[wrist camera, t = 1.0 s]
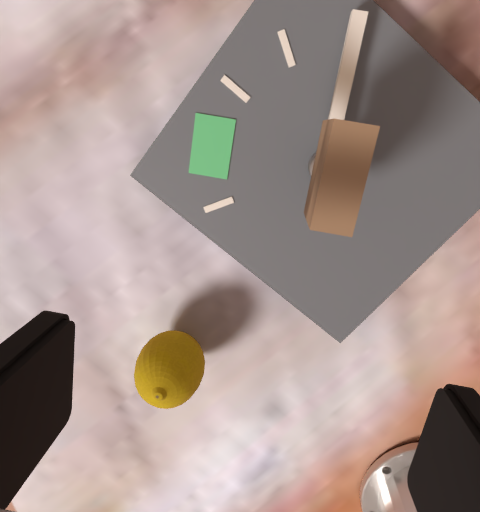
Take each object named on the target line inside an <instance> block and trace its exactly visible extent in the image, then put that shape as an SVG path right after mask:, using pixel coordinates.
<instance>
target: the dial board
mask: <svg viewBox="0 0 480 512" xmlns="http://www.w3.org/2000/svg"><path fill="white" fill-rule="evenodd" d="M353 9H355V10H362V11H368V16H367V21H366V25H365V29H364V34H363V38H362V43H361V47H360V52H359V56H358V61H357V65H356V70H355V74H354V78H353V83H352V87H351V92H350V96H349V101H348V105H347V110H346V114H345V118H344V120H346V121H352V122H358V123H364V124H370V125H376V126H380V129H379V133H378V137H377V141H376V145H375V149H374V153H373V157H372V161H371V165H370V169H369V173H368V177H367V181H366V185H365V189H364V193H363V197H362V201H361V205H360V209H359V213H358V217H357V220H356V224H355V228H354V232H353V236H352V237H348V236H342V235H336V234H331V233H325V232H319V231H313V230H310V229H309V226H308V223H307V221H306V218H305V215H304V208H305V204H306V199H307V194H308V189H309V184H310V180H311V175H310V174H309V171H308V163H309V160H310V158H311V157H312V155H313V154H314V153H316V151H317V146H318V142H319V137H320V132H321V127H322V123H323V120H328V117H329V112H330V108H331V103H332V98H333V93H334V89H335V84H336V79H337V75H338V70H339V65H340V61H341V56H342V51H343V47H344V42H345V37H346V33H347V28H348V23H349V18H350V14H351V11H352V10H353ZM130 176H131V177H133V178H134V179H135V180H137V181H138V182H139V183H140V184H142V185H143V186H144V187H145V188H147V189H148V190H149V191H150V192H152V193H153V194H154V195H155V196H157V197H158V198H159V199H160V200H162V201H163V202H164V203H165V204H167V205H168V206H169V207H170V208H172V209H173V210H174V211H175V212H177V213H178V214H179V215H180V216H182V217H183V218H184V219H185V220H187V221H188V222H189V223H190V224H192V225H193V226H194V227H195V228H197V229H198V230H199V231H200V232H202V233H203V234H204V235H205V236H207V237H208V238H209V239H210V240H212V241H213V242H214V243H215V244H217V245H218V246H219V247H220V248H222V249H223V250H224V251H225V252H227V253H228V254H229V255H230V256H232V257H233V258H234V259H235V260H237V261H238V262H239V263H241V264H242V265H243V266H244V267H246V268H247V269H248V270H249V271H251V272H252V273H253V274H254V275H256V276H257V277H258V278H259V279H261V280H262V281H263V282H264V283H266V284H267V285H268V286H269V287H271V288H272V289H273V290H274V291H276V292H277V293H278V294H279V295H281V296H282V297H283V298H284V299H286V300H287V301H288V302H289V303H291V304H292V305H293V306H294V307H296V308H297V309H298V310H299V311H301V312H302V313H303V314H304V315H306V316H307V317H308V318H309V319H311V320H312V321H313V322H314V323H316V324H317V325H318V326H319V327H321V328H322V329H323V330H324V331H326V332H327V333H328V334H329V335H331V336H332V337H333V338H334V339H336V340H337V341H338V342H339V343H341V342H342V341H343V340H344V339H345V338H346V337H347V336H348V335H349V334H350V333H351V332H352V331H353V330H355V329H356V328H357V327H358V326H359V325H360V324H361V323H362V322H363V321H364V320H365V319H366V318H367V317H368V316H369V315H370V314H371V313H372V312H373V311H374V310H375V309H376V308H377V307H378V306H379V305H380V304H382V303H383V302H384V301H385V300H386V299H387V298H388V297H389V296H390V295H391V294H392V293H393V292H394V291H395V290H396V289H397V288H398V287H399V286H400V285H401V284H402V283H403V282H404V281H405V280H406V279H407V278H409V277H410V276H411V275H412V274H413V273H414V272H415V271H416V270H417V269H418V268H419V267H420V266H421V265H422V264H423V263H424V262H425V261H426V260H427V259H428V258H429V257H430V256H431V255H432V254H433V253H434V252H436V251H437V250H438V249H439V248H440V247H441V246H442V245H443V244H444V243H445V242H446V241H447V240H448V239H449V238H450V237H451V236H452V235H453V234H454V233H455V232H456V231H457V230H458V229H459V228H460V227H461V226H463V225H464V224H465V223H466V222H467V221H468V220H469V219H470V218H471V217H472V216H473V215H474V214H475V213H476V212H477V211H478V210H479V209H480V102H479V101H478V100H477V99H476V98H475V97H474V96H473V95H472V94H471V93H470V92H469V91H468V90H467V89H465V88H464V87H463V86H462V85H461V84H460V83H459V82H458V81H457V80H456V79H455V78H454V77H453V76H452V75H451V74H450V73H449V72H448V71H447V70H446V69H445V68H443V67H442V66H441V65H440V64H439V63H438V62H437V61H436V60H435V59H434V58H433V57H432V56H431V55H430V54H429V53H428V52H427V51H426V50H425V49H424V48H423V47H421V46H420V45H419V44H418V43H417V42H416V41H415V40H414V39H413V38H412V37H411V36H410V35H409V34H408V33H407V32H406V31H405V30H404V29H403V28H402V27H401V26H400V25H398V24H397V23H396V22H395V21H394V20H393V19H392V18H391V17H390V16H389V15H388V14H387V13H386V12H385V11H384V10H383V9H382V8H381V7H380V6H379V5H378V4H376V3H375V2H374V1H373V0H254V2H253V3H252V5H251V6H250V7H249V9H248V10H247V12H246V13H245V14H244V16H243V17H242V19H241V20H240V22H239V23H238V24H237V26H236V27H235V29H234V30H233V31H232V33H231V34H230V36H229V37H228V38H227V40H226V41H225V43H224V44H223V45H222V47H221V48H220V50H219V51H218V52H217V54H216V55H215V57H214V58H213V59H212V61H211V62H210V64H209V65H208V67H207V68H206V69H205V71H204V72H203V74H202V75H201V76H200V78H199V79H198V81H197V82H196V83H195V85H194V86H193V88H192V89H191V90H190V92H189V93H188V95H187V96H186V97H185V99H184V100H183V102H182V103H181V104H180V106H179V107H178V109H177V110H176V112H175V113H174V114H173V116H172V117H171V119H170V120H169V121H168V123H167V124H166V126H165V127H164V128H163V130H162V131H161V133H160V134H159V135H158V137H157V138H156V140H155V141H154V142H153V144H152V145H151V147H150V148H149V149H148V151H147V152H146V154H145V155H144V157H143V158H142V159H141V161H140V162H139V164H138V165H137V166H136V168H135V169H134V171H133V172H132V173H131V175H130Z"/></svg>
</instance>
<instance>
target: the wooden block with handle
mask: <svg viewBox="0 0 480 512" xmlns="http://www.w3.org/2000/svg"><path fill="white" fill-rule="evenodd" d="M367 16H368V11H362V10H355V9H353V10H352V11H351V14H350V18H349V23H348V28H347V33H346V37H345V42H344V47H343V51H342V56H341V61H340V65H339V70H338V75H337V79H336V84H335V89H334V93H333V98H332V103H331V108H330V112H329V117H328V120H323V123H322V127H321V132H320V137H319V142H318V146H317V151H316V153H314V154H313V155H312V157H311V158H310V160H309V163H308V171H309V174H310V175H311V180H310V184H309V189H308V194H307V199H306V204H305V208H304V215H305V218H306V221H307V223H308V226H309V229H310V230H313V231H319V232H325V233H331V234H336V235H342V236H348V237H352V236H353V232H354V228H355V224H356V220H357V217H358V213H359V209H360V205H361V201H362V197H363V193H364V189H365V185H366V181H367V177H368V173H369V169H370V165H371V161H372V157H373V153H374V149H375V145H376V141H377V137H378V133H379V129H380V126H376V125H370V124H364V123H358V122H352V121H346V120H344V118H345V114H346V110H347V105H348V101H349V96H350V92H351V87H352V83H353V78H354V74H355V70H356V65H357V61H358V56H359V52H360V47H361V43H362V38H363V34H364V29H365V25H366V21H367Z"/></svg>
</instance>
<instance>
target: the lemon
mask: <svg viewBox="0 0 480 512" xmlns="http://www.w3.org/2000/svg"><path fill="white" fill-rule="evenodd" d="M204 366H205V360H204V355H203V351H202V349H201V347H200V345H199V343H198V342H197V341H196V340H195V339H194V338H193V337H192V336H190V335H189V334H187V333H184V332H181V331H166V332H163V333H160V334H158V335H156V336H155V337H153V338H152V339H150V340H149V342H148V343H147V344H146V345H145V346H144V347H143V349H142V350H141V352H140V354H139V356H138V359H137V361H136V366H135V373H134V378H135V385H136V388H137V390H138V393H139V394H140V396H141V397H142V398H143V399H144V400H145V401H146V402H147V403H149V404H150V405H152V406H155V407H158V408H165V409H168V408H174V407H177V406H179V405H182V404H183V403H184V402H186V401H187V400H188V399H189V398H190V397H191V396H192V395H193V394H194V392H195V391H196V390H197V388H198V387H199V385H200V382H201V380H202V377H203V374H204Z"/></svg>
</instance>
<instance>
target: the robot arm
mask: <svg viewBox="0 0 480 512" xmlns="http://www.w3.org/2000/svg"><path fill="white" fill-rule="evenodd" d="M74 340H75V324H74V322H73V321H69V316H68V315H67V314H62V313H56V312H51V311H43V312H41V313H40V314H39V315H37V316H36V317H35V318H33V319H32V320H31V321H29V322H28V323H27V324H26V325H24V326H23V327H22V328H20V329H19V330H18V331H17V332H15V333H14V334H13V335H11V336H10V337H9V338H7V339H6V340H5V341H4V342H2V343H1V344H0V512H15V511H9V510H5V509H6V508H7V506H8V505H9V503H10V502H11V501H12V499H13V498H14V496H15V495H16V494H17V492H18V491H19V489H20V488H21V487H22V485H23V484H24V482H25V481H26V480H27V478H28V477H29V475H30V474H31V473H32V471H33V470H34V468H35V467H36V466H37V464H38V463H39V461H40V460H41V459H42V457H43V456H44V454H45V453H46V452H47V450H48V449H49V447H50V446H51V445H52V443H53V442H54V440H55V439H56V438H57V436H58V435H59V433H60V432H61V431H62V429H63V428H64V426H65V425H66V423H67V422H68V420H69V417H70V414H71V409H72V389H73V365H74ZM360 501H361V507H362V511H363V512H480V396H479V394H478V393H477V392H476V391H475V390H474V389H473V388H469V387H463V386H458V385H452V384H447V385H446V386H445V387H444V388H443V389H442V388H440V389H438V390H437V392H436V394H435V397H434V400H433V402H432V405H431V408H430V411H429V414H428V417H427V420H426V422H425V425H424V428H423V431H422V434H421V437H420V440H419V442H416V443H410V444H406V445H403V446H400V447H397V448H395V449H393V450H391V451H389V452H387V453H385V454H384V455H383V456H381V457H380V458H379V459H377V460H376V461H375V462H374V463H373V464H372V465H371V467H370V468H369V469H368V470H367V472H366V474H365V476H364V477H363V480H362V483H361V486H360Z"/></svg>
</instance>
